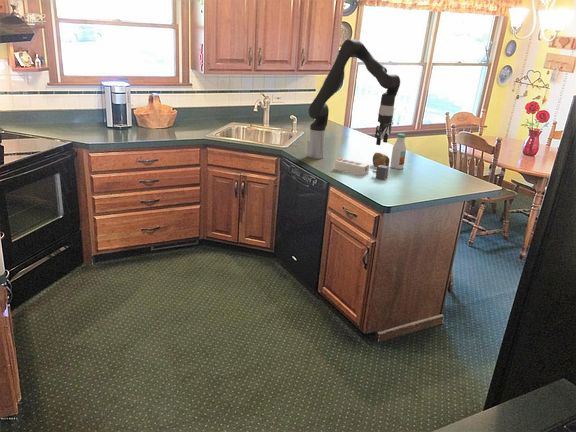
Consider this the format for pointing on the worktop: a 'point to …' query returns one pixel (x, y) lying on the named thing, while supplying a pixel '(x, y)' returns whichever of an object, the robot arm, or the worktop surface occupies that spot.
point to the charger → (381, 172)
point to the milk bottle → (398, 152)
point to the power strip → (352, 166)
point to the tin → (380, 159)
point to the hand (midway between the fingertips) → (381, 143)
